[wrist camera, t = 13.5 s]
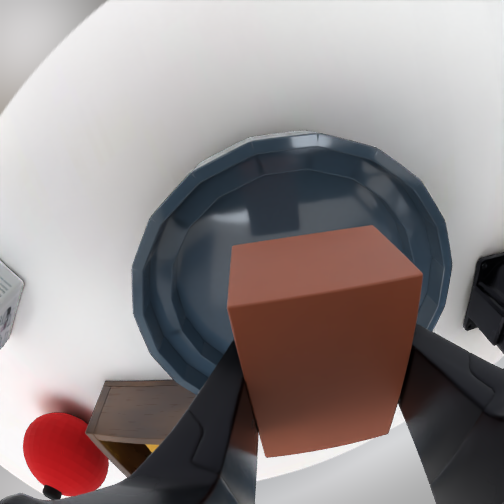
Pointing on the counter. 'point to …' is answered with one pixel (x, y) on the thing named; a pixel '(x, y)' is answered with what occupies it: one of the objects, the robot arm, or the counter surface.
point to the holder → (135, 419)
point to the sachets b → (323, 335)
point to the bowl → (270, 234)
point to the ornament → (63, 456)
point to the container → (8, 300)
